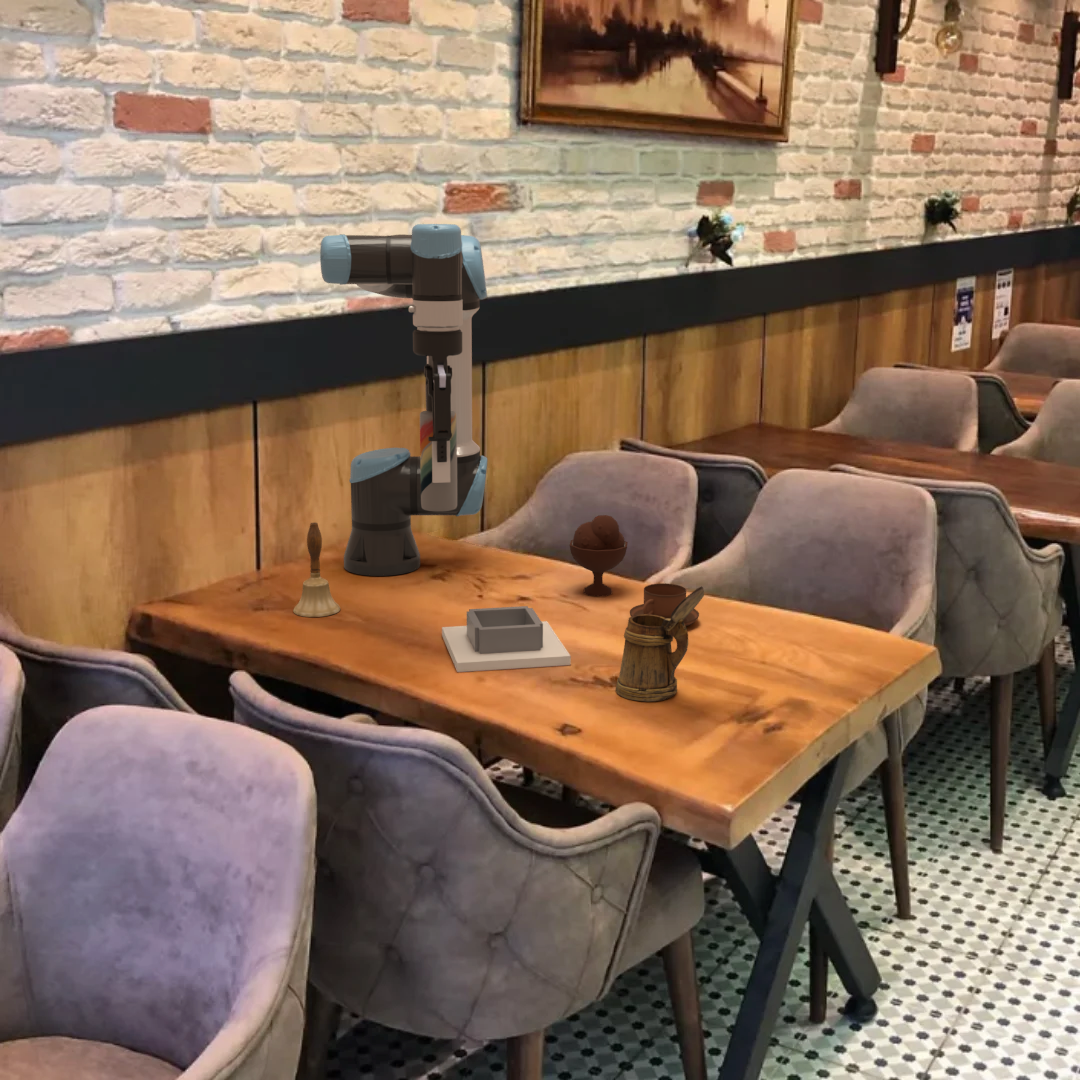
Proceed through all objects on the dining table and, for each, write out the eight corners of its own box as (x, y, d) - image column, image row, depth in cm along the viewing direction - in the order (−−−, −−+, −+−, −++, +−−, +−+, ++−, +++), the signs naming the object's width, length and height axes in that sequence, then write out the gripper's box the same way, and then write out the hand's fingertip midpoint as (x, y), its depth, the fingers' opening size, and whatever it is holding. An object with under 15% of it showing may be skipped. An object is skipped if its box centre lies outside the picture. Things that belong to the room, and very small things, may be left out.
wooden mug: (681, 714, 188) (686, 593, 184) (604, 693, 196) (606, 576, 192) (713, 696, 195) (718, 580, 190) (637, 676, 203) (640, 564, 198)
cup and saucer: (689, 637, 222) (690, 602, 220) (620, 629, 226) (621, 594, 224) (705, 617, 233) (707, 583, 231) (640, 609, 237) (641, 576, 235)
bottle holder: (441, 635, 221) (441, 604, 220) (546, 629, 225) (547, 598, 223) (457, 672, 204) (457, 638, 203) (570, 664, 208) (570, 631, 206)
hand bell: (286, 607, 236) (283, 521, 232) (330, 601, 240) (327, 516, 236) (302, 620, 229) (299, 531, 225) (347, 613, 233) (344, 525, 229)
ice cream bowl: (627, 584, 251) (629, 508, 248) (625, 602, 241) (627, 522, 237) (571, 582, 252) (572, 506, 249) (567, 599, 242) (568, 520, 238)
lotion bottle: (423, 503, 210) (422, 378, 205) (459, 504, 209) (458, 378, 204) (418, 511, 204) (416, 383, 199) (455, 512, 204) (453, 383, 199)
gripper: (407, 322, 208) (410, 466, 214) (418, 334, 190) (420, 491, 196) (455, 322, 209) (456, 465, 215) (469, 334, 192) (470, 489, 197)
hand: (439, 477), depth 206 cm, fingers closed on lotion bottle, 6 cm apart
